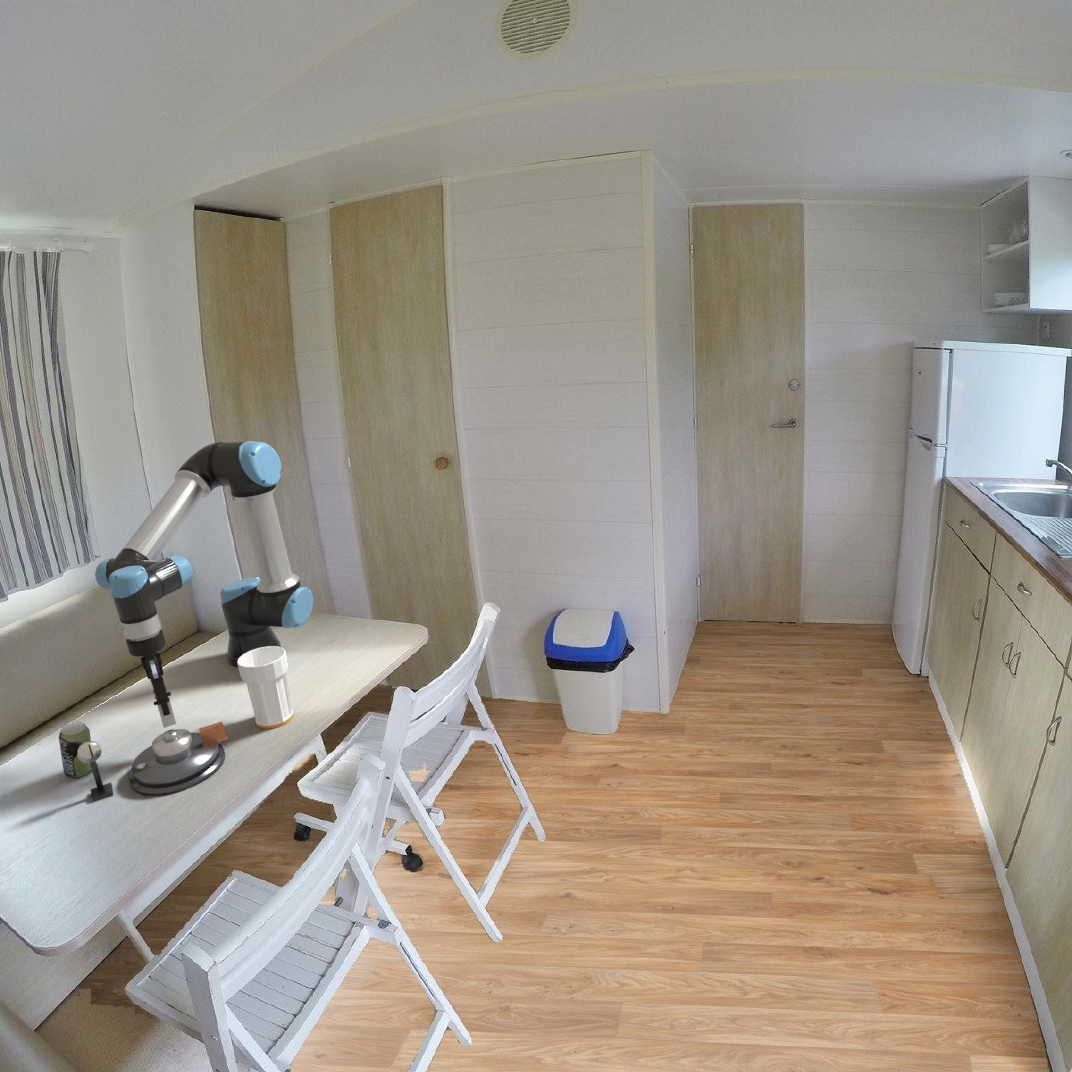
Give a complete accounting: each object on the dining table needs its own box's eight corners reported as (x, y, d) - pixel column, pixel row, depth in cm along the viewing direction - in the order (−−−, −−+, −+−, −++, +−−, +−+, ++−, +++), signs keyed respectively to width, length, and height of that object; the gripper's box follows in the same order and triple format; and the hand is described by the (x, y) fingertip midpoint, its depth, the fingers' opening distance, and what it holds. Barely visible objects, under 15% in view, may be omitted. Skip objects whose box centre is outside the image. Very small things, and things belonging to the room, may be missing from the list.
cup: (241, 728, 189) (226, 664, 184) (271, 704, 199) (258, 644, 193) (278, 734, 185) (264, 669, 179) (307, 710, 195) (295, 648, 189)
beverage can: (73, 766, 179) (59, 721, 175) (105, 762, 179) (92, 717, 176) (59, 782, 173) (45, 736, 169) (93, 778, 173) (79, 732, 170)
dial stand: (90, 793, 168) (74, 740, 164) (113, 785, 170) (97, 733, 166) (91, 802, 164) (74, 749, 160) (114, 794, 166) (98, 742, 162)
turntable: (130, 759, 177) (124, 735, 175) (221, 729, 187) (216, 706, 185) (137, 798, 162) (129, 773, 160) (235, 764, 172) (229, 739, 170)
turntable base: (127, 763, 178) (126, 759, 178) (217, 733, 187) (216, 730, 187) (133, 807, 161) (132, 803, 161) (232, 772, 171) (231, 768, 170)
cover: (154, 751, 175) (149, 730, 173) (192, 740, 179) (186, 719, 177) (157, 769, 168) (151, 747, 167) (196, 756, 172) (190, 735, 170)
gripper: (123, 629, 176) (149, 718, 184) (127, 649, 166) (155, 743, 173) (158, 619, 180) (183, 707, 187) (165, 639, 169) (190, 731, 177)
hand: (169, 724), depth 180 cm, fingers closed
